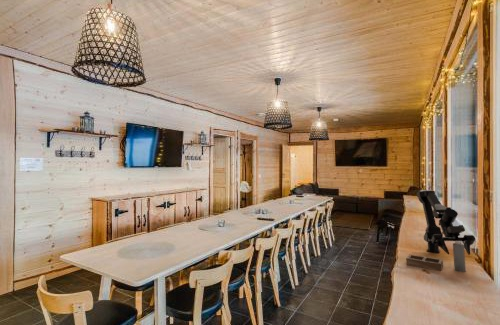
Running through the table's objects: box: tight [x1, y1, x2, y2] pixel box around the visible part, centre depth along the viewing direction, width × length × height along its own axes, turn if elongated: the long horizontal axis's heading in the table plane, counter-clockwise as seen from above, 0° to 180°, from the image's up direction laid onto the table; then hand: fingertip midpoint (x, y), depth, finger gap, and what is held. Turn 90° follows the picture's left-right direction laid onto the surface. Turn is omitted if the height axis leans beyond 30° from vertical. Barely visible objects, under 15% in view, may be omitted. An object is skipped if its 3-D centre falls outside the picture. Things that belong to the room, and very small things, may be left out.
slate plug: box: [452, 241, 467, 273], centre depth 138 cm, size 5×5×15 cm
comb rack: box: [405, 254, 444, 272], centre depth 146 cm, size 8×16×4 cm, turn 49°
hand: (458, 254), depth 139 cm, fingers open, 9 cm apart
